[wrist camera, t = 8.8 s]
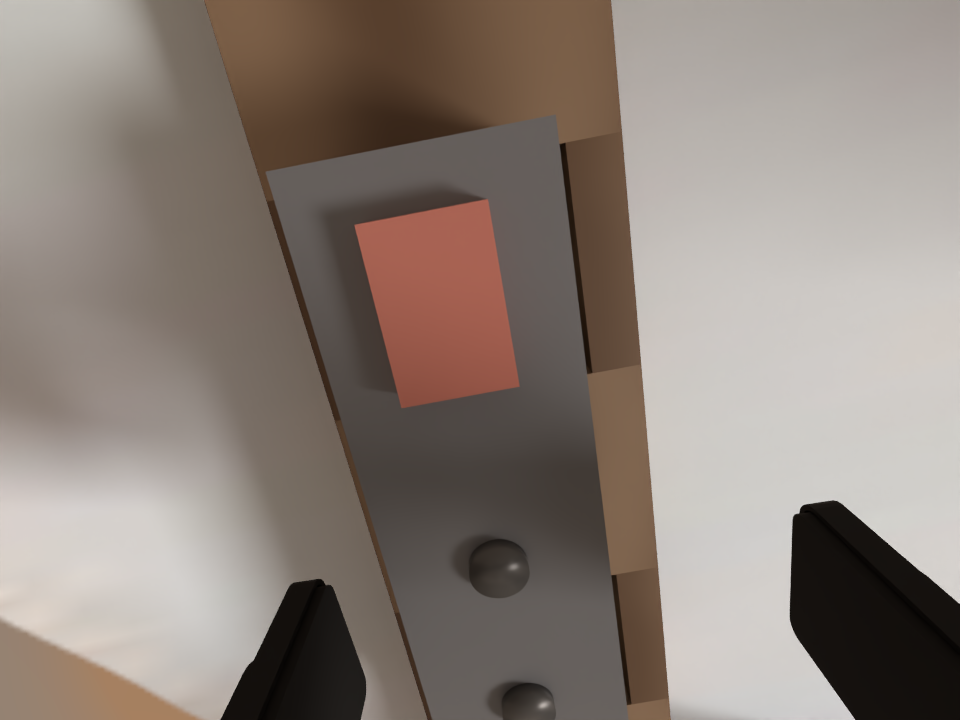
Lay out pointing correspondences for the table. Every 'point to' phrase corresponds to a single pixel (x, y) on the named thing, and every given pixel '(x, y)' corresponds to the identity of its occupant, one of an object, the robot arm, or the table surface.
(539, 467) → the grey control box
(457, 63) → the rail
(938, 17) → the table surface
